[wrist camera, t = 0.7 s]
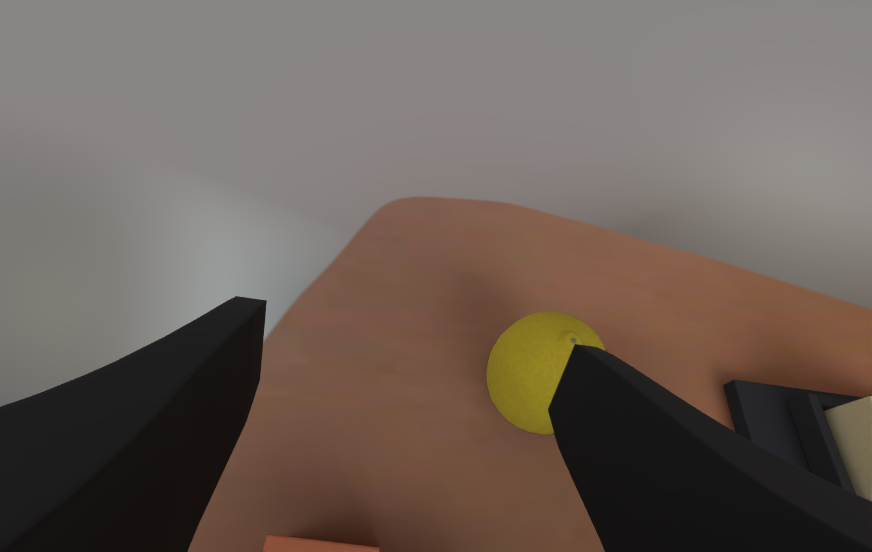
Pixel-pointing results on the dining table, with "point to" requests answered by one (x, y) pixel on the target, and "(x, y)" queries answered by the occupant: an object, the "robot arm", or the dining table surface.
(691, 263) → the dining table surface
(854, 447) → the cream rectangular block
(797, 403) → the dark rectangular tray
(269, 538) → the orange rectangular block
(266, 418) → the dining table surface
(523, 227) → the dining table surface
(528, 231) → the dining table surface
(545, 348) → the lemon
